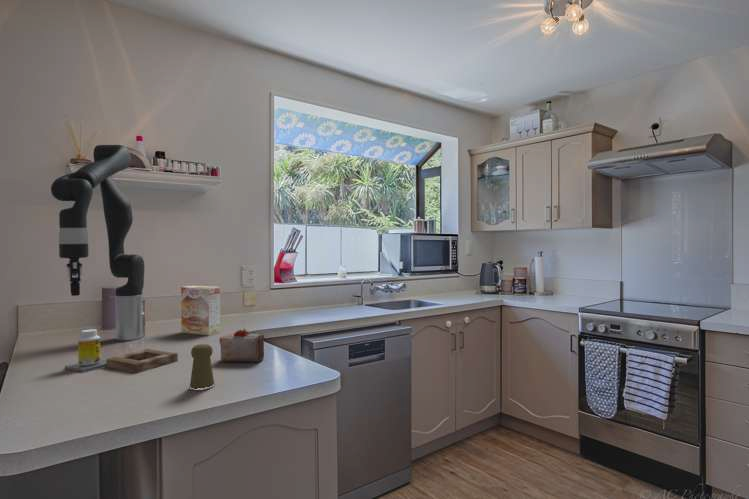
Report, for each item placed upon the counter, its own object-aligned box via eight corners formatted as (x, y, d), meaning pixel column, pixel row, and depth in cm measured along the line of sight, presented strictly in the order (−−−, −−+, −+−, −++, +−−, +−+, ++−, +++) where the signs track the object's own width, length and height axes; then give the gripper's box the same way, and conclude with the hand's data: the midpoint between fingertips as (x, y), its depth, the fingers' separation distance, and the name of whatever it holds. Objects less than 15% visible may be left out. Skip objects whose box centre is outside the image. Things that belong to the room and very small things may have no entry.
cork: (194, 383, 115) (193, 342, 115) (217, 382, 115) (217, 342, 115) (186, 391, 109) (185, 348, 109) (210, 390, 109) (210, 347, 109)
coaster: (95, 361, 137) (95, 358, 137) (113, 364, 133) (113, 361, 133) (64, 368, 129) (64, 365, 129) (83, 372, 125) (83, 369, 125)
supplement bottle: (99, 364, 130) (98, 331, 130) (76, 367, 127) (76, 333, 127) (101, 360, 135) (101, 328, 135) (80, 362, 132) (79, 329, 132)
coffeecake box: (180, 333, 180) (180, 286, 180) (193, 329, 187) (193, 285, 187) (208, 335, 175) (208, 288, 174) (220, 332, 181) (220, 286, 181)
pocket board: (148, 355, 143) (148, 348, 143) (177, 360, 137) (177, 353, 137) (106, 366, 131) (106, 359, 130) (137, 372, 125) (136, 364, 124)
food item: (216, 363, 134) (215, 332, 134) (226, 356, 142) (226, 327, 142) (258, 364, 133) (258, 332, 133) (266, 357, 141) (266, 327, 141)
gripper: (89, 242, 131) (90, 295, 131) (87, 242, 142) (88, 290, 143) (58, 243, 126) (60, 297, 127) (58, 242, 138) (60, 292, 138)
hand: (75, 294), depth 135 cm, fingers open, 8 cm apart
